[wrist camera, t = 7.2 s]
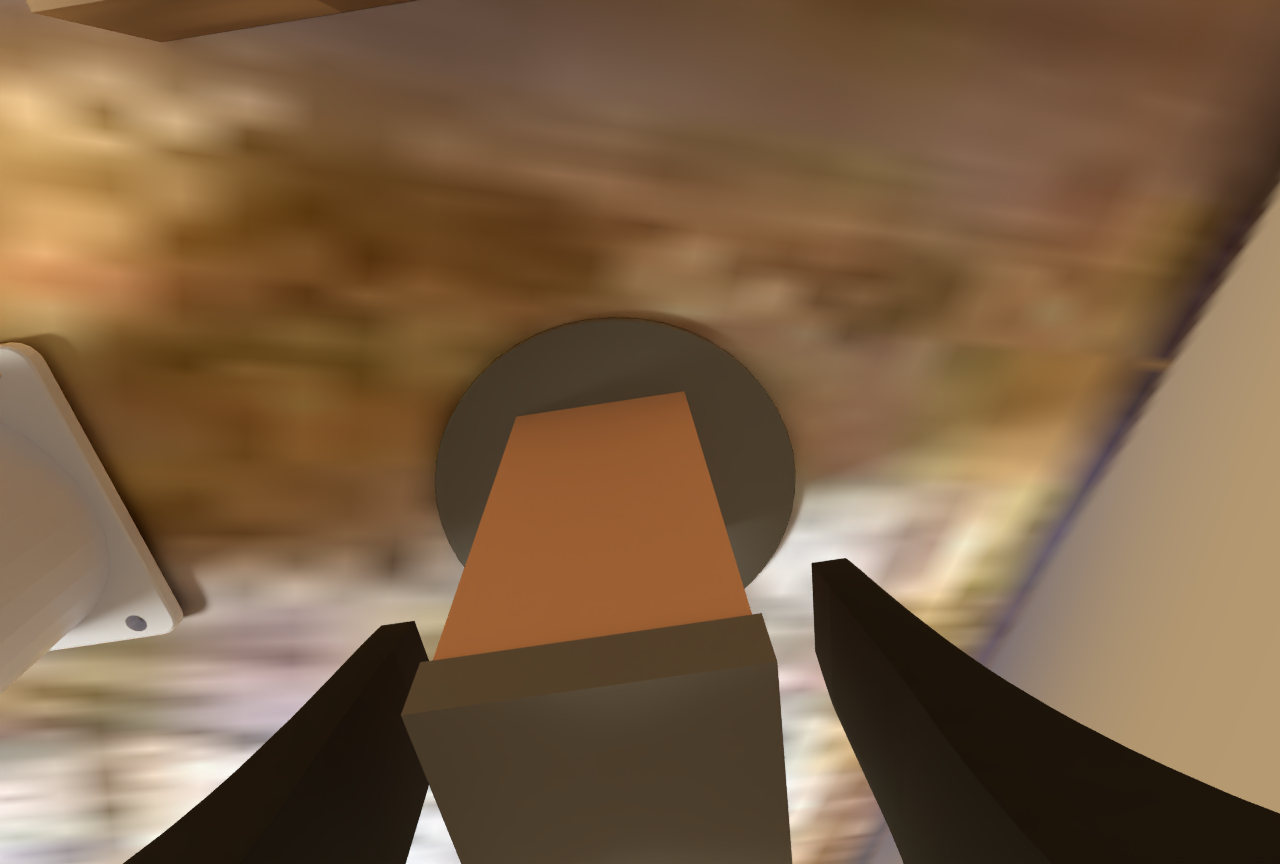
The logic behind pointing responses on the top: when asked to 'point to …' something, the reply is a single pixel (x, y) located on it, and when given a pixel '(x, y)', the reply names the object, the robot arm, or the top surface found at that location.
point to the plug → (604, 660)
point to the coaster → (615, 371)
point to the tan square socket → (191, 14)
